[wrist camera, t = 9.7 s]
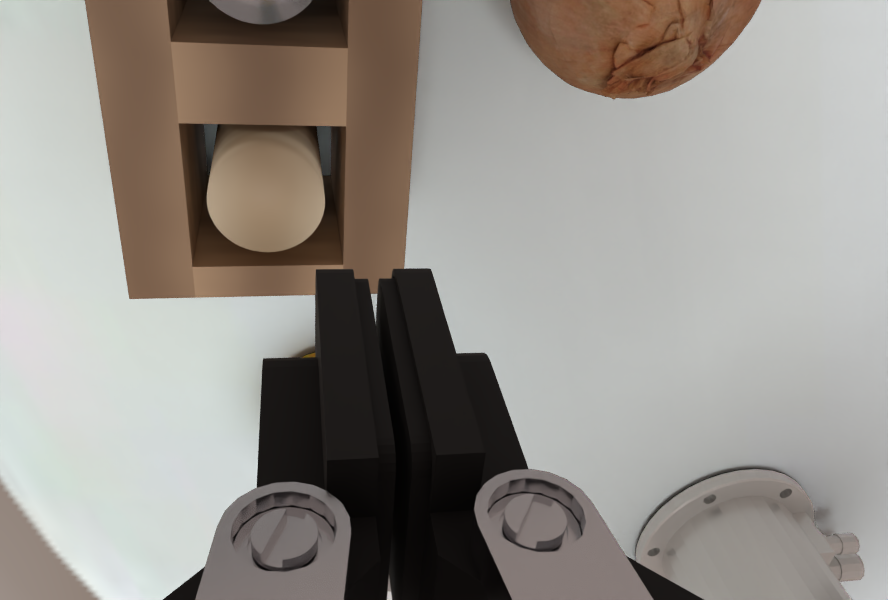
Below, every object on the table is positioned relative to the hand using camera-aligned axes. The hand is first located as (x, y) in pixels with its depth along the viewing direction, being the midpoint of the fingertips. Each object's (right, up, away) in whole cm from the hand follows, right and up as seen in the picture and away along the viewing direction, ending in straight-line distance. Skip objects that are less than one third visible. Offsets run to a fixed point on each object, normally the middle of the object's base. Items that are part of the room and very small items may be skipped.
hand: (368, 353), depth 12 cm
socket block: (-6, +12, +20) cm, 24 cm away
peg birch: (-6, +9, +22) cm, 25 cm away
